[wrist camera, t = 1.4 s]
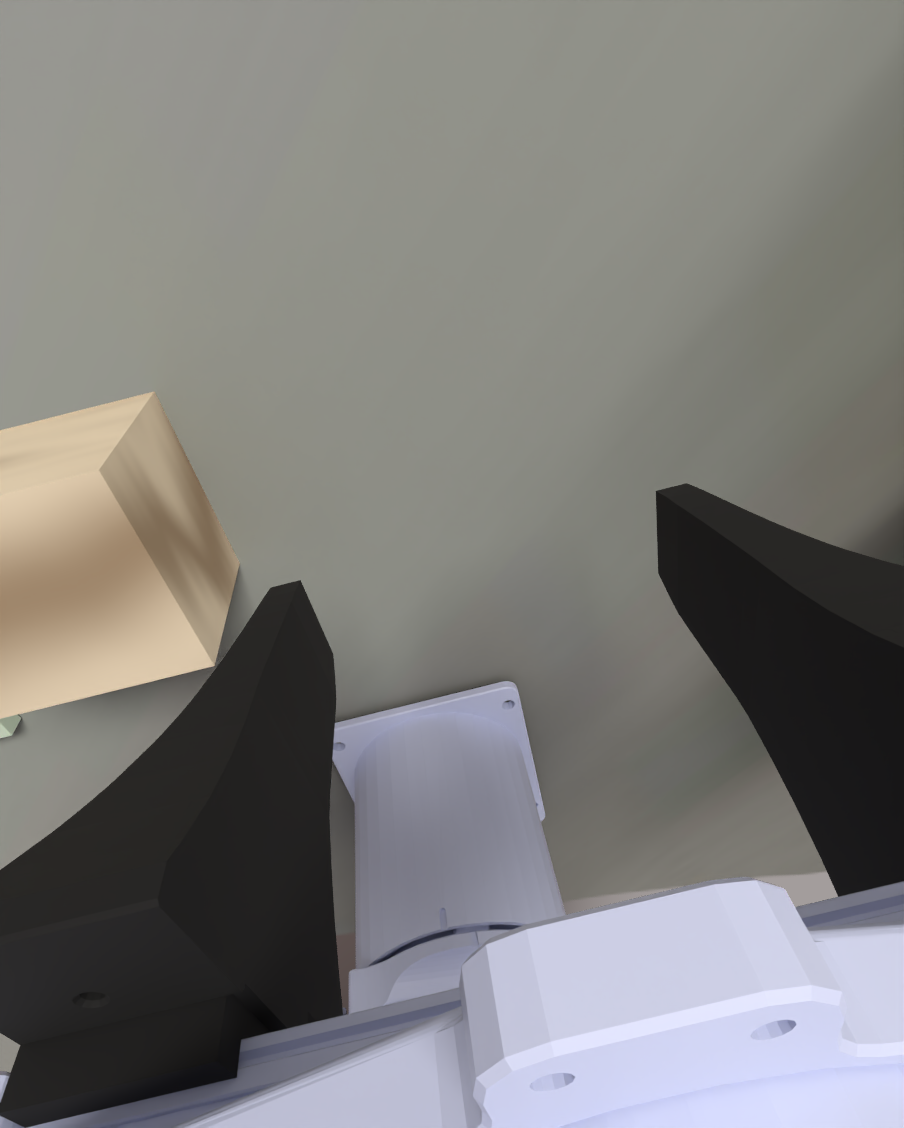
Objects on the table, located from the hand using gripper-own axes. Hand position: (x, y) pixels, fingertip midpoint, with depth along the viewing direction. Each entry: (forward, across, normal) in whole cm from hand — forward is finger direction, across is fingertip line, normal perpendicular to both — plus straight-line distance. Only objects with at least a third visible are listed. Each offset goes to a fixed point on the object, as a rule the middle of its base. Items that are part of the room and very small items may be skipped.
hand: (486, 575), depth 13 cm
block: (+8, +10, 0) cm, 13 cm away
